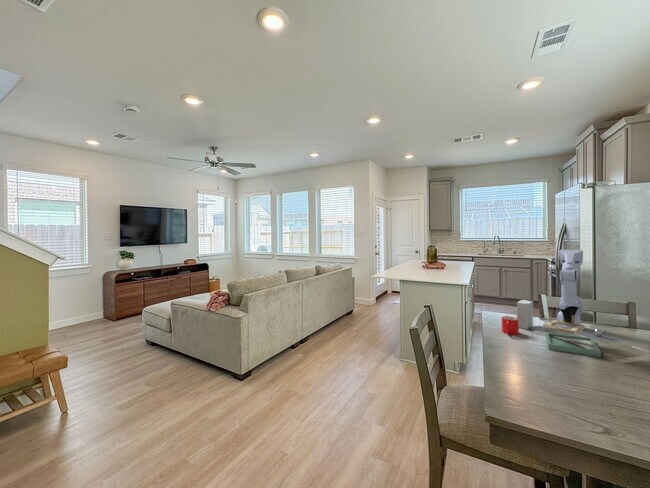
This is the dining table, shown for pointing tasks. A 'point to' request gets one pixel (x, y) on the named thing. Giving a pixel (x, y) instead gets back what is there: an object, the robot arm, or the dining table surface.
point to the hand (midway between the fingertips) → (569, 321)
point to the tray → (571, 345)
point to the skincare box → (525, 313)
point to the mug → (510, 325)
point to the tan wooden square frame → (572, 324)
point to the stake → (598, 330)
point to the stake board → (605, 336)
